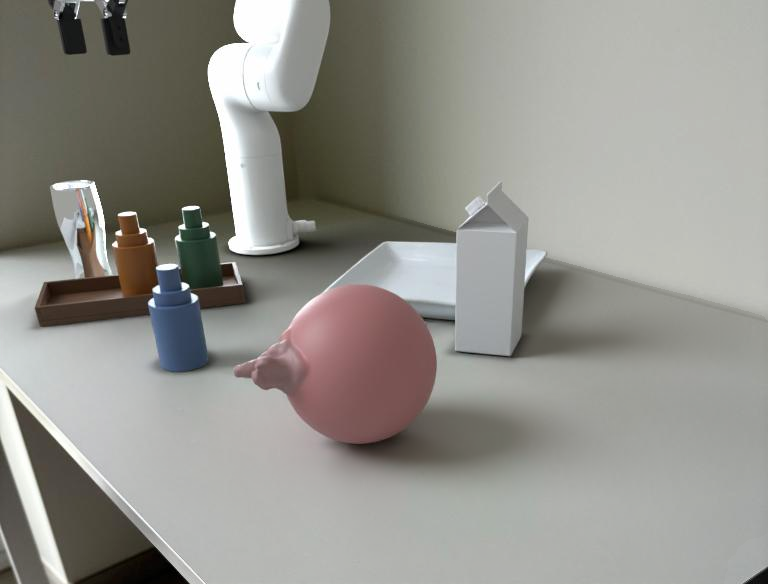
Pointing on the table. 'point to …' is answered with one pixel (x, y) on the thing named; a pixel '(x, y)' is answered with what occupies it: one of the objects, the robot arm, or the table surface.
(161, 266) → the blue bottle
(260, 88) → the robot arm
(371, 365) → the balloon
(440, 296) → the square plate
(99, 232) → the beer glass
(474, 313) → the milk carton
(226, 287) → the tray
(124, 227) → the amber bottle
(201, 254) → the green bottle
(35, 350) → the table surface
